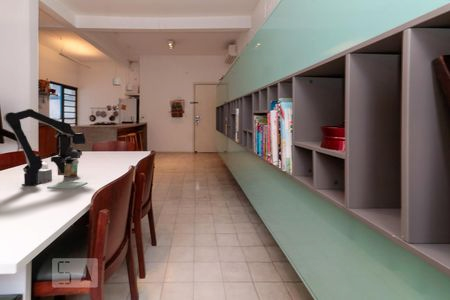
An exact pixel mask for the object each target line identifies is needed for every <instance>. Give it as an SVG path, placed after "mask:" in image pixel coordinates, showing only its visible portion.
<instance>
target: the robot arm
mask: <svg viewBox="0 0 450 300" xmlns="http://www.w3.org/2000/svg"><path fill="white" fill-rule="evenodd" d="M28 118H30V119H34V120H36V121H39V122H41V123H43V124H46V125H48V126H50V127H52V128H53V129H55V130H56V131H58V132H57V134H56V135H54V137H55V138H58V143H59V144H58V146H57V149H58V150H59V153H58V154H57V155H53V156H51V157H50V162H51V163H54V164H55V165H56V167H58V168H59V170H60V172H61V173H62V174H63V173H64V166H65V163H73V162H74V161H75V160H76V159H81V156H83V152H82V151H83V150H82V149H80V148H78V149H74V147H73V146H78V145H80V146H81V145H85V144H86V137H85V136H86V135H85V133H84V132H78V133H77V132H75V131H74V130H73V129H72V126H71V124H70V123H68V122H63V121H60V120H56V119H54V118H51V117H49V116H47V115H45V114H42V113H40V112H38V111H36V110H33V109H32V108H27V109H25V110H22V111H21V110H20V111H17V112H11V111H10V112H6V113H5V114H4V115H3V120H4V122H5V123H6V125H7V126H8V127H9V128H10V129H11V130H12V132H13V134H14V135H15V138H16V140H17V142H18V145H20V147H21V149H22V152H23V154H24V155H25V160H26V166H24V167H23V168H22V170H23V172H24V174H23V177H24V180H23V181H24V183H22V184H21V186H29V187H30V186H32V187H33V186H37V185H40V184H42V181H38V172H39V170H40V169H41V168H42V166H43V165H42V162H44V161H43V160H42V159H41V155H40V154H37V153H35V152H34V151H33V148H32V145H31V144H30V142H29V141H28V139H27V136H26V135H25V132H24V131H23V128H22V123H21V120H24V119H28ZM71 144H72V145H73V146H71ZM58 168H57V169H58Z"/></svg>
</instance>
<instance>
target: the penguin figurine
mask: <svg viewBox="0 0 450 300" xmlns="http://www.w3.org/2000/svg"><path fill="white" fill-rule="evenodd" d="M42 165H43V166H42V168H41V169H49V165H48V163H47V162H45V161H43V162H42Z"/></svg>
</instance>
